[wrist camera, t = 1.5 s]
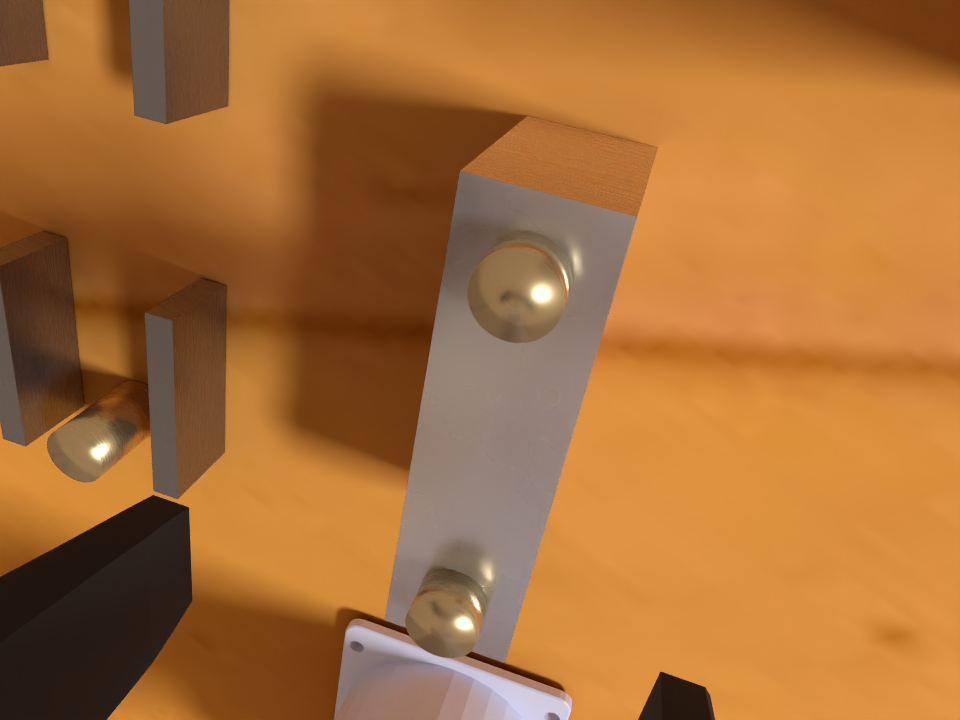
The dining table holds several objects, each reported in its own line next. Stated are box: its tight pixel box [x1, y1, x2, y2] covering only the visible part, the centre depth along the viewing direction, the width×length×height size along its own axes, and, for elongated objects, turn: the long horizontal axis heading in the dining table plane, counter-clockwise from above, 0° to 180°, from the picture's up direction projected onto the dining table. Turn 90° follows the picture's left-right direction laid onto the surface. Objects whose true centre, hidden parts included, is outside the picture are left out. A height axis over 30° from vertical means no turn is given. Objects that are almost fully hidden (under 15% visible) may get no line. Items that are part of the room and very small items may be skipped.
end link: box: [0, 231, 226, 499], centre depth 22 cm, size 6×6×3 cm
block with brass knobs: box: [385, 116, 658, 663], centre depth 17 cm, size 11×3×6 cm, turn 170°
